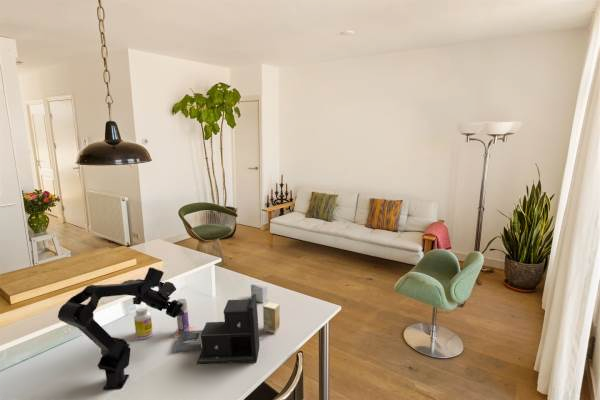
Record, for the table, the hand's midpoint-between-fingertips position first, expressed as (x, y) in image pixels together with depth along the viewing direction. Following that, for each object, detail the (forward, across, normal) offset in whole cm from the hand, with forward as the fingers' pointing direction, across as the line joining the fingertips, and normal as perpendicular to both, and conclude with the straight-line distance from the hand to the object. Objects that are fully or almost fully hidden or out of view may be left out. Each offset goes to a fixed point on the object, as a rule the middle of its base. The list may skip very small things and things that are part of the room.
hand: (177, 311), depth 147 cm
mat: (+10, 0, +6) cm, 12 cm away
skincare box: (+26, -32, -10) cm, 42 cm away
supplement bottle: (+3, +13, +14) cm, 20 cm away
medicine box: (+39, -8, -23) cm, 46 cm away
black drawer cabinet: (+11, -28, +7) cm, 31 cm away
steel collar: (+8, -10, +9) cm, 15 cm away
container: (+10, 0, +6) cm, 12 cm away
